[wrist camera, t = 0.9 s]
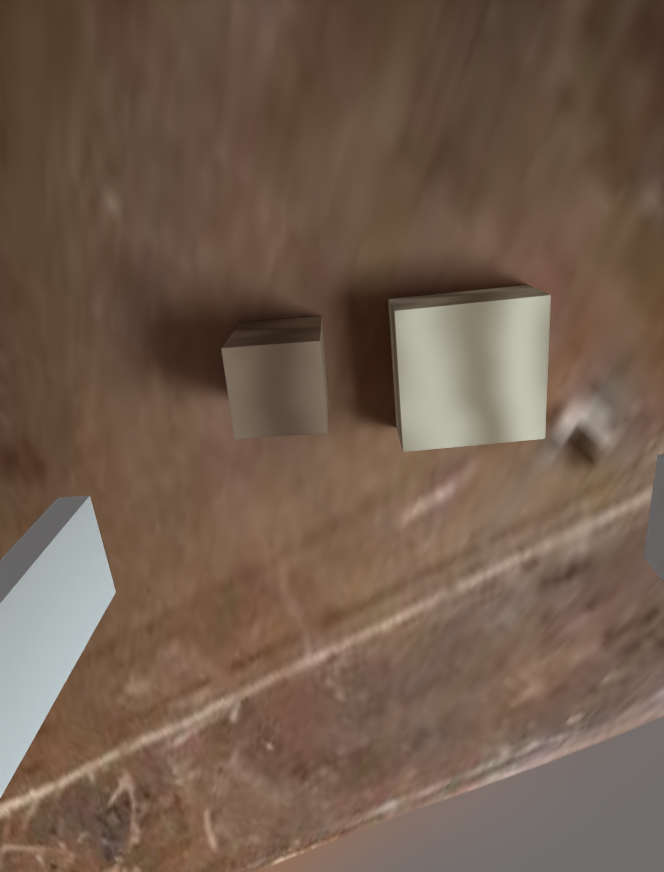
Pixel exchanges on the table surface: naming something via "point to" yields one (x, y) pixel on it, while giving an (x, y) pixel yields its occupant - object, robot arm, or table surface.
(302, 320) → the walnut block
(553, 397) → the table surface
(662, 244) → the table surface
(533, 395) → the pale square block
